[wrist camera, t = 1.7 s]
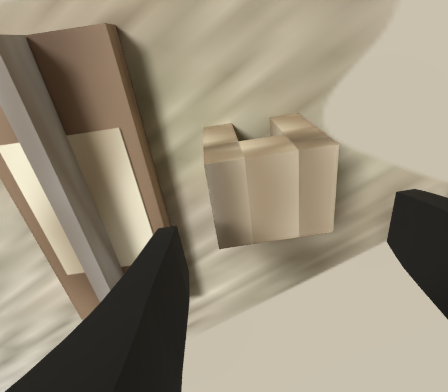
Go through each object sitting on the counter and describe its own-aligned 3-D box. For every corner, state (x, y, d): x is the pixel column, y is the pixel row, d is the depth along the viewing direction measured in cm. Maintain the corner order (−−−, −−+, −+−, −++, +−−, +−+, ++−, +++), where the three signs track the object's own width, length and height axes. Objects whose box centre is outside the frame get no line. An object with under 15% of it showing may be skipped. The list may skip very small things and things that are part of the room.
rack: (115, 25, 12) (85, 20, 9) (187, 286, 20) (184, 332, 17) (-45, 49, 12) (-129, 52, 9) (89, 301, 20) (68, 349, 17)
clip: (298, 113, 15) (339, 144, 10) (298, 181, 17) (333, 231, 12) (203, 127, 15) (204, 164, 10) (214, 194, 17) (219, 249, 12)
